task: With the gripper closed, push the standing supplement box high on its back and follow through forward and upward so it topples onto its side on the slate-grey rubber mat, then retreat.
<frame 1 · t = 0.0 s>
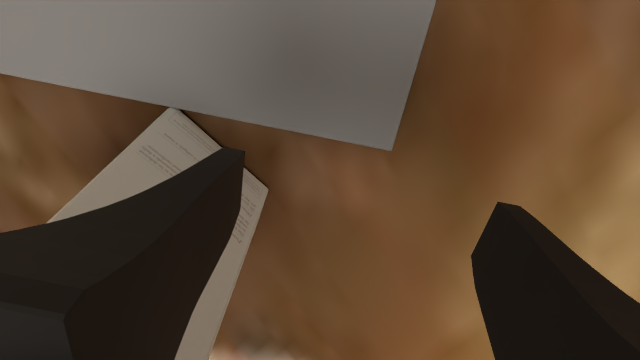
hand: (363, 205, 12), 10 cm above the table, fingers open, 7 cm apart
supplement box: (189, 181, 25), on the table
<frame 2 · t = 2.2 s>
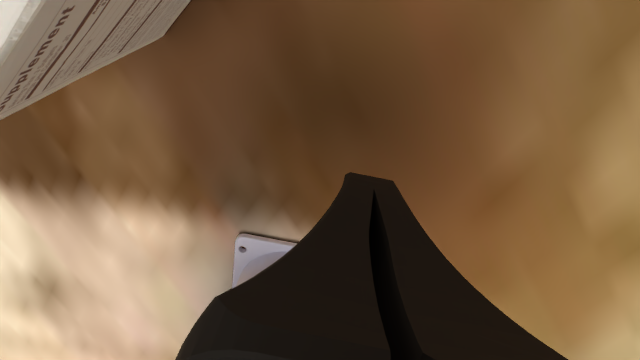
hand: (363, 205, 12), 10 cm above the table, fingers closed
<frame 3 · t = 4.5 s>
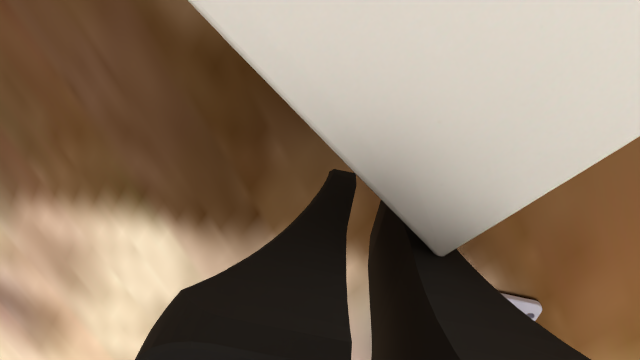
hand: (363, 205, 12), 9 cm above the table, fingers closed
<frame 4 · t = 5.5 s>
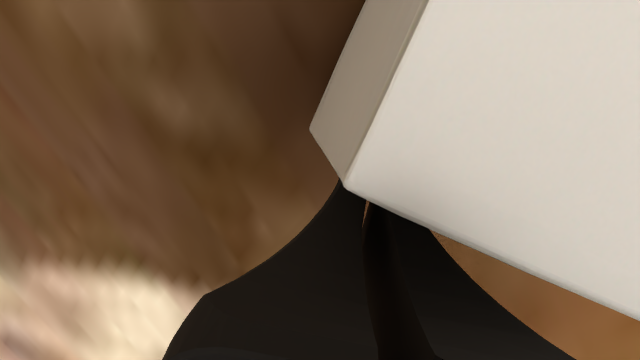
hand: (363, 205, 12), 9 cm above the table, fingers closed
supplement box: (418, 89, 18), point 1 cm above the table, touching gripper, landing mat
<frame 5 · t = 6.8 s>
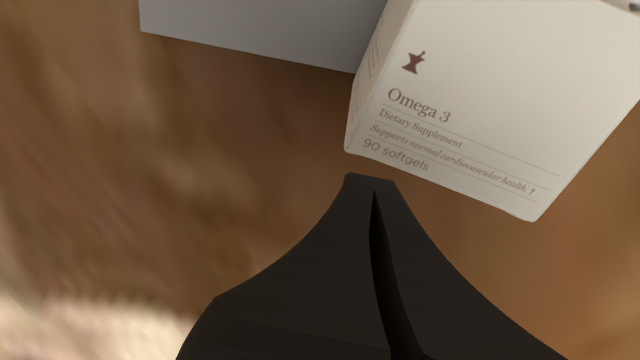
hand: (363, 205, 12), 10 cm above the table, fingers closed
supplement box: (426, 149, 17), point 4 cm above the table, touching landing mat
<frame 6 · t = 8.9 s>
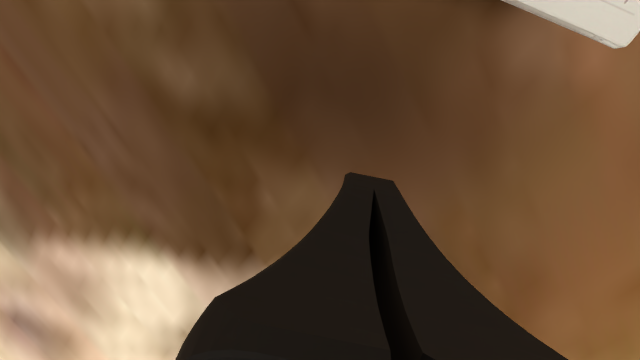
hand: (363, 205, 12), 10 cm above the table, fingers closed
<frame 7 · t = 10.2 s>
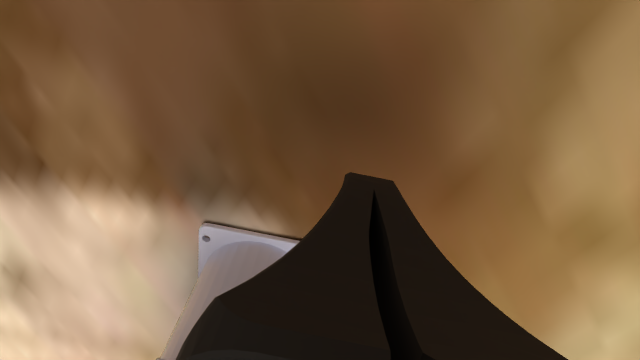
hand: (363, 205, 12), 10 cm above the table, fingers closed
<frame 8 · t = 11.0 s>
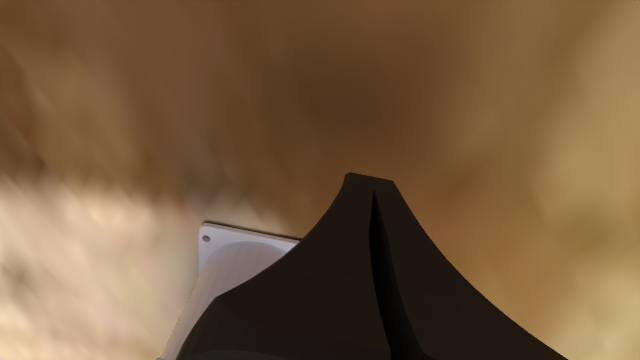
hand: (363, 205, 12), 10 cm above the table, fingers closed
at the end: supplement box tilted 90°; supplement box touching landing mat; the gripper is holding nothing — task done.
